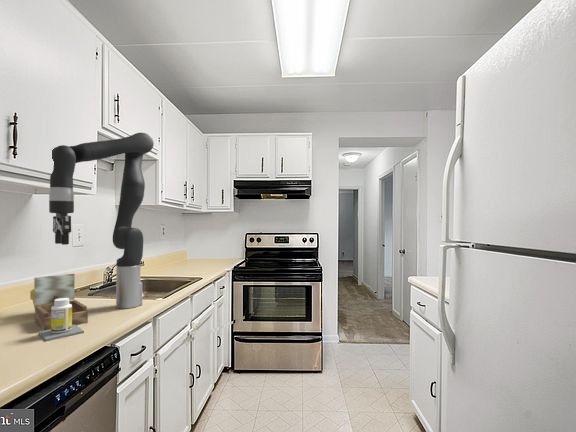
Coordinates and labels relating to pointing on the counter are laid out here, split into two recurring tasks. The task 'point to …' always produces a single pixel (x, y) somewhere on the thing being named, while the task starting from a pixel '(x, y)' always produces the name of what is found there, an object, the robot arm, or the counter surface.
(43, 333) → the mat
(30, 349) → the counter surface
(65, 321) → the supplement bottle
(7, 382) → the counter surface
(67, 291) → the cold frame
